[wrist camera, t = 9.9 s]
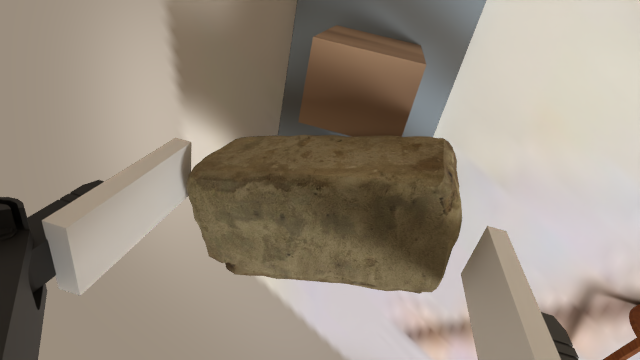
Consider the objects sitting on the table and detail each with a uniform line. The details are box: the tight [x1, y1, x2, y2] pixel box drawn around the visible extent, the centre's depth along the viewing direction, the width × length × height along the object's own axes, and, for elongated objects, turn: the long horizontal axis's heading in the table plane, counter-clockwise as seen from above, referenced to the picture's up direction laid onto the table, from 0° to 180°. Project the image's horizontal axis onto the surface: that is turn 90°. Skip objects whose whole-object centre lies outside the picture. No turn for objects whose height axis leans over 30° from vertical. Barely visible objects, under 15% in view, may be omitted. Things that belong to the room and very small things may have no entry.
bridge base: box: [278, 0, 486, 137], centre depth 21 cm, size 22×10×7 cm, turn 169°
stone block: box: [187, 135, 462, 293], centre depth 16 cm, size 6×12×5 cm, turn 95°
